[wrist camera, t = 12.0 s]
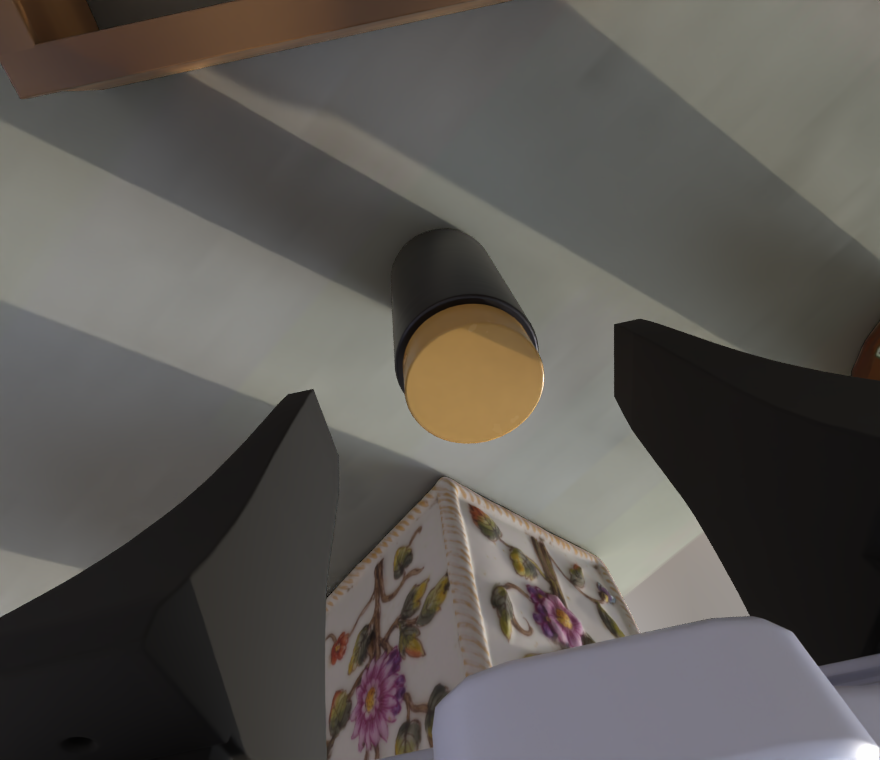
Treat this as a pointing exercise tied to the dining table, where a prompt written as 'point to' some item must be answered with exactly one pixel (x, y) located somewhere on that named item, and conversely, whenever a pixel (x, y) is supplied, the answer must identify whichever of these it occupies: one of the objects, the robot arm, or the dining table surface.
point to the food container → (869, 357)
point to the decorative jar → (451, 616)
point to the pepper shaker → (461, 340)
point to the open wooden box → (180, 37)
